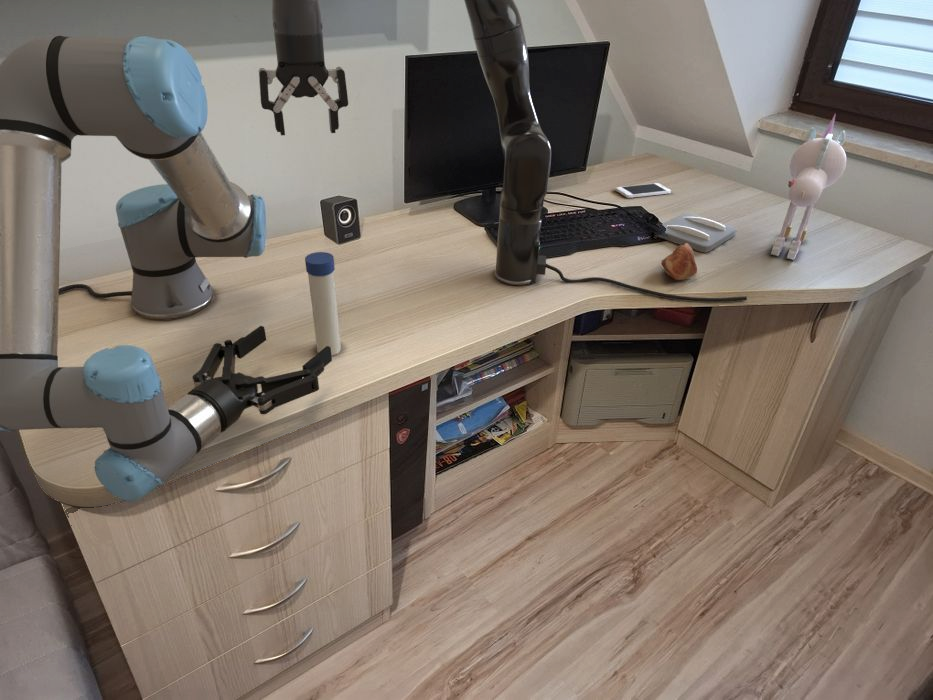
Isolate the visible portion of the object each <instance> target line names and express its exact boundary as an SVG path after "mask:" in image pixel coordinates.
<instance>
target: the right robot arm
mask: <svg viewBox="0 0 933 700" xmlns="http://www.w3.org/2000/svg"><path fill="white" fill-rule="evenodd" d="M463 1H464V5H465V9H466V13H467V15H468V19H469V20H468V21H469V24H470V28H471V33H472V37H473V41H474V46H475V49H476V53H477V57H478V60H479V65H480V67H481V70H482V72H483V76H484V79H485V81H486V84H487V86H488V87H487V88H488V89H489V91H490V94H491V97H492V100H493V102H494V107H495V110H496V116H497V123H498V128H499V136H500V145H501V151H502V155H503V158H504V168H503V169H504V171H503V183H502V188H501V190H500V198H499V211H498V228H497V244H496V260H495V270H494V277H495V278H496V280H498V281H499V282H502V283H503V284H508V285H510V286H525V285H530V284H537V275H541V276H545V275H546V269H548V270H551V271H553V272H555V273H557V274H558V276H559V278H560V279H561V281H563V282H565V283H569V284H575V283H577V284H578V283H587V282H604V283H607V284H612V285H615V286H619V287H622V288H624V289H625V288H626V289H628V290H632V291H637V292H641V293H644V294H649V295H652V296H656V297H661V298H667V299H672V300H679V301H690V302H708V303H709V302H710V303H711V302H736V301H737V302H739V301H747V300H748V297H747V295H746V296H731V297H698V296H697V297H695V296H683V295H678V294H677V295H676V294H670V293H664V292H659V291H655V290H650V289H647V288H642V287H639V286H635V285H630V284H627V283H625V282H621V281H617V280H615V279H610V278H605V277H598V276H596V277H595V276H594V277H593V276H592V277H591V276H590V277H585V278H580V279H570V278H567V277H565V276H564V274H563V271H561V270H560V269H559V268H557V267H556V266H553V265H550V264H548V263H547V255H540V249H541V247H540V246H541V244H540V243H541V231H542V222H543V221H542V220H543V213H544V212H543V211H544V201H545V197H546V196H547V193H548V189H549V188H548V187H549V180H550V172H551V164H552V146H551V143H550V141H549V139H548V138H547V136H546V134H545V133H544V132H543V130H542V128H541V125H540V122H539V119H538V116H537V113H536V109H535V107H534V103H533V99H532V96H531V89H530V88H531V87H530V67H529V66H530V65H529V63H530V62H529V53H528V46H527V40H526V35H525V31H524V26H523V21H522V17H521V14H520V11H519V9H518V6H517V4H516V3H515V1H514V0H463ZM271 17H272V27H273V36H274V43H275V52H276V53H275V54H276V63H277V66H276V69H266V68H264V67H260V68H259V70H258V80H259V82H258V83H259V94H260V97H259V98H260V105H261V107H262V109H263V110H268V111H271V112H272V113H273V119H274V128H275V130H276V132H277V133H280V136H286V130H285V121H284V114H283V110H282V109H283V108H284V106H285V105H286V103H288V101H289V100H290V98H291V96H292V97H293V98H296V99H297V98H298V99H299V98H300V99H301V98H303V97H307V98H315V97H316V96H320V98H321V99H322V100H323V102H325V104H326V105H327V106H328V107H329V108H328V123H329V132H330V133H331V134H336V130H339V127H340V121H339V110H340V109H342V108H346V107H348V106H349V96H348V88H347V80H346V72H345V70H344V69H343V68H342V67H341V66H337V67H336V68H329V69H327V67H326V63H325V62H326V61H325V51H324V50H325V49H324V37H323V36H324V35H323V26H324V25H323V22H322V13H321V8H320V3H319V0H271ZM275 78H276V80H278V82H279V83H280V84H281V85H282V87H281V89H280V91H278V95H277V96H276V98H275V99H274V101H272V100H270V95H269V85H272V83H273V81H274V79H275ZM329 78H331V79H332V81H333V82H334V83H335V84H336V85H337V95H338V98H336V99H333V97H332V96H331V95H330V94H329V92H328V91H327V90H326V88H325V87H324V85H325V84H326V82H327V80H328V79H329Z"/></svg>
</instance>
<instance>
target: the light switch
mask: <svg viewBox="0 0 933 700" xmlns="http://www.w3.org/2000/svg"><path fill="white" fill-rule="evenodd" d="M661 224H662V225H663V226H664V227H665V228H666V231H665V234H667V235H668V237H665V236H662V235H658V236H657V235H654V236H655V237H657V238H659V239H663V240H665V241H669V242H671V243H674V244H677V245H679V246H680V245H684V244H685V243H688V244H689V245H690V246H691V248H692V250H694V251H697V252H699V253H709V252H711V251H712V250H714V249H716V248H717V247H719V246H720V245H722V244H724V243H725V242H727V241H730V239H732V238H734V237H736V234H737V228H736V227H734V226H732V225H729V224H725V223H722V222H719V221H716V220H713V219H710V218H707V217H703V216H700V215H697V214H694V213H690V212H683V213H682V214H679V215H677V216H675V217H673V218H671V219H669V220H668V221H666V222H663V223H661Z"/></svg>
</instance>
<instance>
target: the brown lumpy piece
mask: <svg viewBox="0 0 933 700" xmlns="http://www.w3.org/2000/svg"><path fill="white" fill-rule="evenodd" d="M693 250H694V249H692V248H691V246H690V245H689V244H688V243H685V244H684V245H680V244H679V245H678V246H677V247H675V249H674V250H673V251H672V253H671V254H669V255H668V256H666V257H665V258H664V259H662V260H661V262H660V265H661V266H662V268H663V270H664V272H665V273H666V274H667V275H668V276H670V277H671V278H672V279H674V280H676V281H684V280H688V279H689V278H692V277H693V276H694V275H696V274H698V267H697V264H696V260H695V254H694V251H693Z"/></svg>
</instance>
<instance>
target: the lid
mask: <svg viewBox="0 0 933 700" xmlns="http://www.w3.org/2000/svg"><path fill="white" fill-rule="evenodd" d="M304 262H305V263H304V264H305V271H306V273H307V275H308V274H310V275H314V276H324V275H328V274H330V273H332V272H333V271H335V269H336V268H335V257H334V255H333V254H332V253H330V252H326V251H317V252H312V253H309V254H307V255H306V256H305V258H304Z"/></svg>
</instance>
